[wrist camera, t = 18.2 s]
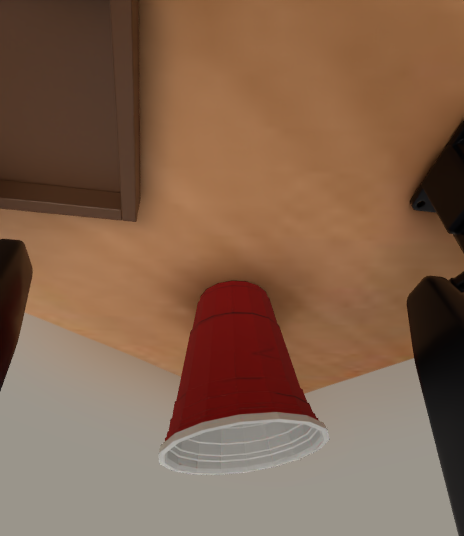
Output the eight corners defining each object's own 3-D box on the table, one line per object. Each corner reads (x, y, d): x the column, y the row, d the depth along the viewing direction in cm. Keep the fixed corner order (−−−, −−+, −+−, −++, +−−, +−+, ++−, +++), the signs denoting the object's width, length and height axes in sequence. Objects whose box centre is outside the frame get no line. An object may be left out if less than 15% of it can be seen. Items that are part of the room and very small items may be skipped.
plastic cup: (298, 331, 36) (322, 474, 28) (182, 338, 36) (174, 482, 29) (308, 252, 28) (346, 424, 20) (157, 262, 28) (137, 436, 20)
